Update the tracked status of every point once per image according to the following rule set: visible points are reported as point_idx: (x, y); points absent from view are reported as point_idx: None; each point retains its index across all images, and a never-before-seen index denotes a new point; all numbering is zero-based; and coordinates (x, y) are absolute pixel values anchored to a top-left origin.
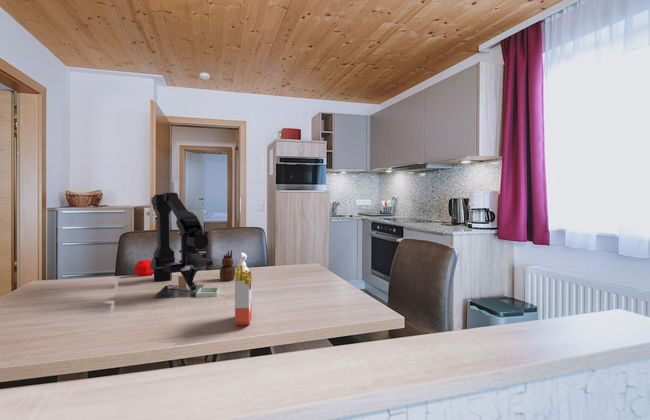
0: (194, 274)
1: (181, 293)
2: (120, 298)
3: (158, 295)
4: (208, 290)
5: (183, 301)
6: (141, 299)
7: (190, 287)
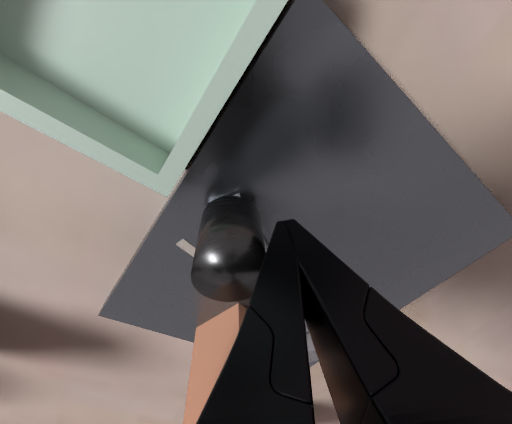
0: (240, 384)
1: (330, 218)
2: (505, 328)
3: (447, 263)
4: (84, 114)
5: (414, 35)
6: (489, 277)
7: (262, 235)
